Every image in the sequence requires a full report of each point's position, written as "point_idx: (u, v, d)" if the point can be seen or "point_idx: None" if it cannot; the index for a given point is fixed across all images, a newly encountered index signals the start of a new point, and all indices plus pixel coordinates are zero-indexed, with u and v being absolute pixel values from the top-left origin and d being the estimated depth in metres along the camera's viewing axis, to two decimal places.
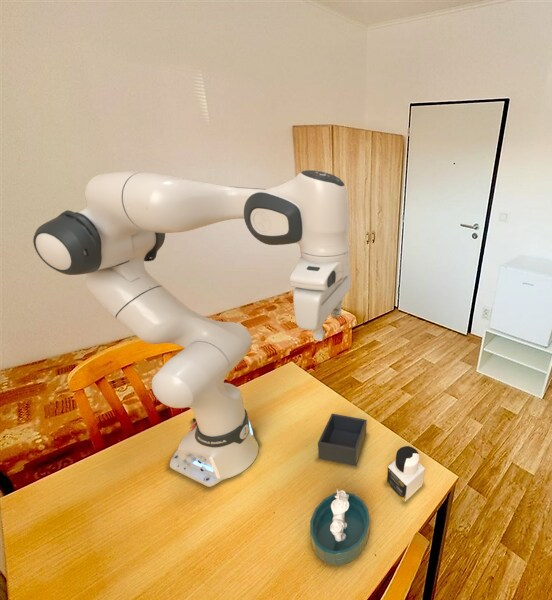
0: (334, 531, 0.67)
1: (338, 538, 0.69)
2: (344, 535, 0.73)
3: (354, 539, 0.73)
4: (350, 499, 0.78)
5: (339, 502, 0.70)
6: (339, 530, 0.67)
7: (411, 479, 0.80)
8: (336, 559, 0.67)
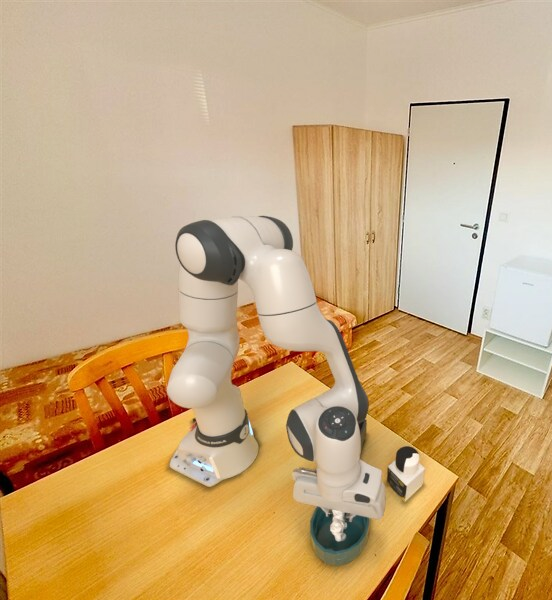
0: (334, 531, 0.67)
1: (338, 538, 0.69)
2: (344, 535, 0.73)
3: (354, 539, 0.73)
4: None
5: None
6: (339, 530, 0.67)
7: (411, 479, 0.80)
8: (336, 559, 0.67)
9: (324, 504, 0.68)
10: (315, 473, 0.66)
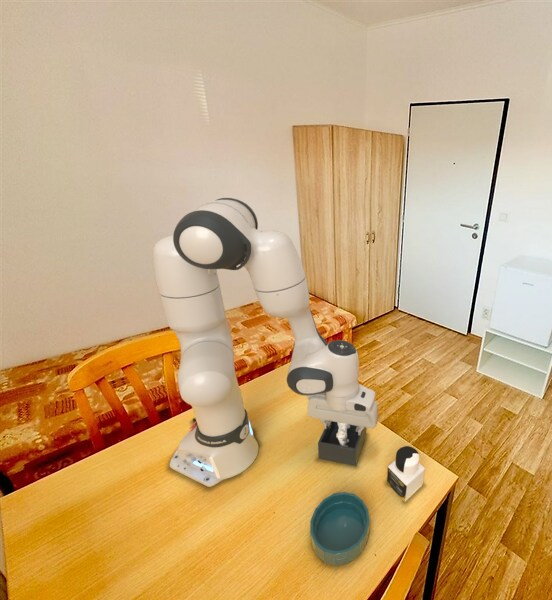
0: (339, 437, 0.88)
1: (342, 444, 0.90)
2: (347, 446, 0.94)
3: (354, 539, 0.73)
4: (350, 499, 0.78)
5: None
6: (343, 436, 0.89)
7: (411, 479, 0.80)
8: (336, 559, 0.67)
9: (331, 417, 0.89)
10: (324, 392, 0.87)
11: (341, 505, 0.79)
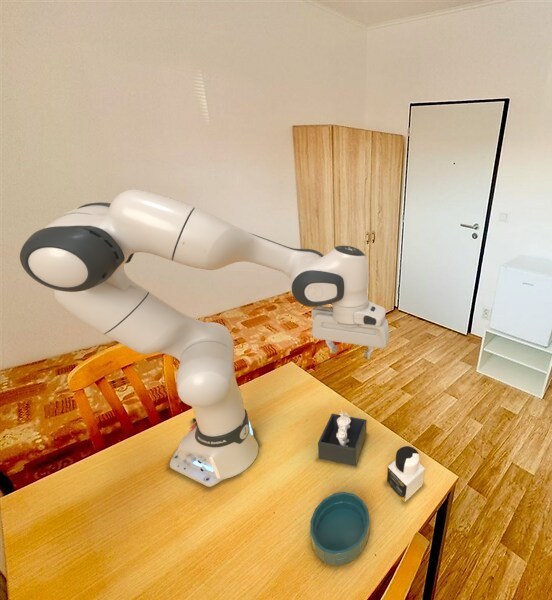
0: (339, 437, 0.88)
1: (342, 444, 0.90)
2: (347, 446, 0.94)
3: (354, 539, 0.73)
4: (350, 499, 0.78)
5: (343, 417, 0.91)
6: (343, 436, 0.89)
7: (411, 479, 0.80)
8: (336, 559, 0.67)
9: (338, 337, 0.82)
10: (330, 308, 0.80)
11: (341, 505, 0.79)
